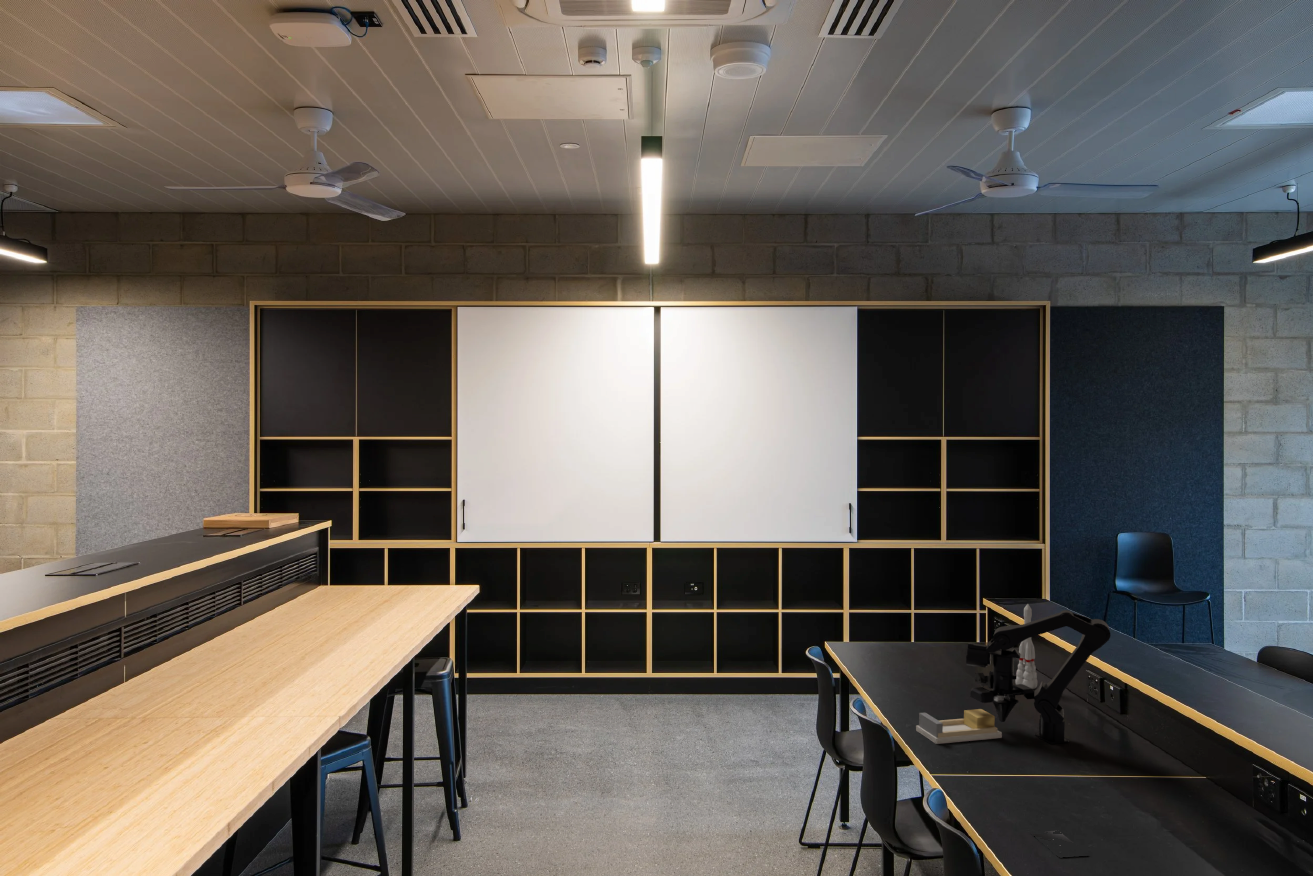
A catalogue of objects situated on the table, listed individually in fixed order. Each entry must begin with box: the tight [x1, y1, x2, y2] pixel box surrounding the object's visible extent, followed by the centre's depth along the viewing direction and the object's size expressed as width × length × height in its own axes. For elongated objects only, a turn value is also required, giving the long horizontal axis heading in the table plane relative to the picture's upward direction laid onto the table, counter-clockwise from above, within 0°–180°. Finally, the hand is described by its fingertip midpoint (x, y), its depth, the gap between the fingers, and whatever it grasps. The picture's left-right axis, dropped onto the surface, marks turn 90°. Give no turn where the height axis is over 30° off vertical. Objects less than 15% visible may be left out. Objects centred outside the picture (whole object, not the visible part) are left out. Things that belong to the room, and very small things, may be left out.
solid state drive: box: [1033, 830, 1078, 846], centre depth 165 cm, size 7×10×1 cm
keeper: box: [963, 708, 996, 729], centre depth 227 cm, size 6×6×4 cm
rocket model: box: [1014, 603, 1038, 690], centre depth 268 cm, size 7×7×30 cm
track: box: [915, 712, 1003, 745], centre depth 225 cm, size 22×10×6 cm, turn 104°
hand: (1002, 721), depth 229 cm, fingers closed
